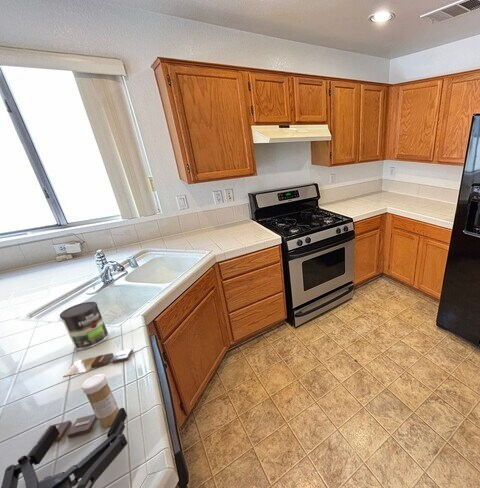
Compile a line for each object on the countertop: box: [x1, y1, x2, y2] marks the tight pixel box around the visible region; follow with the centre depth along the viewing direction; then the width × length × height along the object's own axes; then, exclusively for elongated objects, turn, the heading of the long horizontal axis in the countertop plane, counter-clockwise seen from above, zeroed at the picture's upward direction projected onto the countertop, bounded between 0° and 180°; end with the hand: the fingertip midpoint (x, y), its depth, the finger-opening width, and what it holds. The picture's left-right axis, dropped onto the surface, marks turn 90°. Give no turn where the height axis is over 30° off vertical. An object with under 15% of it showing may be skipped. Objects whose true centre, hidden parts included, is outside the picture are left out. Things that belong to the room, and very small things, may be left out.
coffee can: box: [59, 301, 110, 351], centre depth 98 cm, size 10×10×14 cm
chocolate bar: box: [62, 348, 134, 378], centre depth 89 cm, size 18×7×1 cm, turn 106°
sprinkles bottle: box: [81, 373, 120, 428], centre depth 66 cm, size 5×5×14 cm
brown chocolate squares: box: [36, 413, 98, 445], centre depth 66 cm, size 10×4×1 cm, turn 106°
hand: (90, 420), depth 61 cm, fingers open, 13 cm apart
